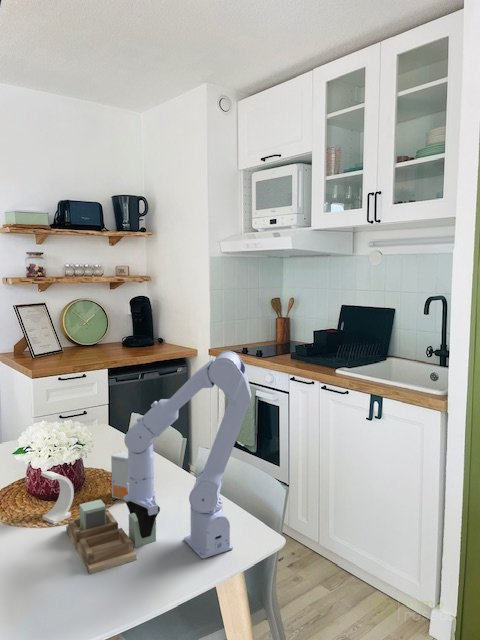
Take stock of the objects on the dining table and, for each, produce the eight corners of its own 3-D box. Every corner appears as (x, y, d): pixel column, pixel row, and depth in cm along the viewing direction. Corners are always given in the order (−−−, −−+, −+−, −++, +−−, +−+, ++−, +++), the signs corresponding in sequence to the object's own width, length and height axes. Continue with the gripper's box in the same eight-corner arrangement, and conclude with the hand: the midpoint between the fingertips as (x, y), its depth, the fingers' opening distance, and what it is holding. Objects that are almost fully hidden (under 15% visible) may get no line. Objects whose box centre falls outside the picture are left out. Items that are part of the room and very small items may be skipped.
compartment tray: (136, 559, 110) (136, 545, 109) (89, 574, 105) (89, 559, 104) (107, 519, 127) (107, 507, 126) (66, 530, 121) (65, 517, 121)
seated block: (106, 531, 119) (106, 506, 118) (85, 537, 116) (84, 512, 116) (101, 523, 123) (100, 499, 122) (80, 528, 120) (79, 504, 119)
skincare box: (111, 498, 138) (110, 455, 137) (120, 491, 142) (119, 450, 141) (130, 502, 136) (129, 458, 135) (139, 495, 140) (138, 453, 139)
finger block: (155, 540, 117) (155, 516, 117) (135, 547, 115) (134, 521, 114) (148, 532, 121) (148, 508, 120) (128, 538, 118) (128, 513, 118)
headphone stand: (42, 518, 127) (40, 472, 126) (63, 509, 132) (62, 464, 131) (53, 524, 124) (52, 477, 123) (74, 514, 129) (73, 469, 128)
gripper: (113, 467, 120) (114, 522, 122) (135, 491, 108) (136, 551, 109) (142, 461, 124) (143, 515, 125) (166, 483, 112) (167, 542, 113)
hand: (142, 531), depth 118 cm, fingers closed on finger block, 4 cm apart
